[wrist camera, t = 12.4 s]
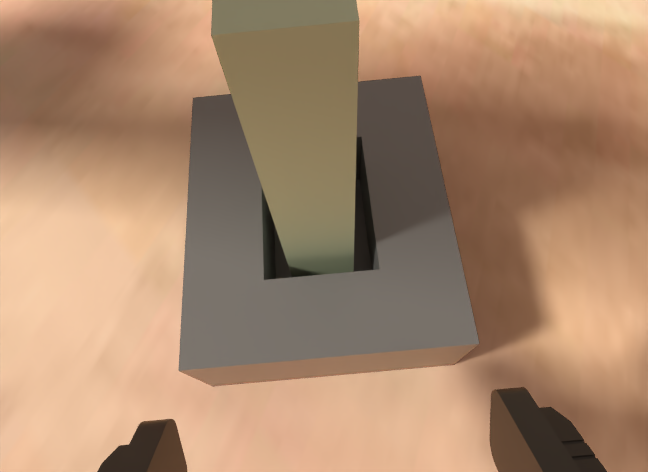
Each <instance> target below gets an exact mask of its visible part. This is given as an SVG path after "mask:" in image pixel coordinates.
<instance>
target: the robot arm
mask: <svg viewBox="0 0 648 472" xmlns="http://www.w3.org/2000/svg"><path fill="white" fill-rule="evenodd" d="M490 446H491V452H492V456H493V459H494V462H495V465H496V467H497V469H498V472H607V471H606V469H605V468H604V467H603V465H602V464H601V463H600V461H599V460H598V458H595V454H594V453H593V452H592V450H591V449H590V447H589V446H588V445H587V443H584V439H583V438H582V436H581V435H580V434H579V432H578V431H577V430H576V428H575V427H574V425H573V424H572V423H571V421H569V420H568V419H567V418H565V417H564V416H562V415H561V414H560V413H558V412H557V411H556V410H554V409H553V408H552V407H545V408H539V407H538V406H537V404H536V403H535V401H534V400H533V398H532V397H531V395H530V394H529V392H528V391H527V390H526V389H525V388H524V387H520V388H509V389H498V390H493V391H492V393H491V412H490ZM98 472H187V465H186V461H185V457H184V453H183V449H182V445H181V441H180V438H179V434H178V430H177V426H176V423H175V421H174V420H173V419H165V420H154V421H144V422H141V423H140V424H139V426H138V428H137V430H136V432H135V434H134V436H133V438H132V440H131V442H130V444H129V445H121V446H119V447H118V448H117V449H116V450H115V451H114V452H113V453H112V454H111V455H110V456H109V457H108V458H107V459H106V460H105V461H104V462H103V463H102V464H101V466H100V468H99V470H98Z"/></svg>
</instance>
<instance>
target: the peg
mask: <svg viewBox="0 0 648 472" xmlns="http://www.w3.org/2000/svg"><path fill="white" fill-rule="evenodd" d="M211 36H212V39H213V42H214V45H215V48H216V51H217V54H218V57H219V60H220V63H221V66H222V69H223V72H224V75H225V78H226V81H227V84H228V87H229V90H230V93H231V96H232V99H233V102H234V105H235V108H236V111H237V114H238V117H239V120H240V123H241V126H242V129H243V132H244V135H245V138H246V141H247V144H248V147H249V150H250V153H251V156H252V159H253V162H254V165H255V168H256V171H257V174H258V177H259V180H260V183H261V186H262V189H263V192H264V195H265V197H266V200H267V203H268V206H269V209H270V212H271V215H272V218H273V221H274V224H275V227H276V230H277V233H278V236H279V239H280V242H281V245H282V248H283V251H284V254H285V257H286V260H287V263H288V266H289V269H290V272H291V275H292V277H302V276H312V275H323V274H334V273H345V272H354V230H355V186H356V142H357V98H358V54H359V16H358V10H357V3H356V0H212V28H211Z"/></svg>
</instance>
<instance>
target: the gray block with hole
mask: <svg viewBox="0 0 648 472" xmlns="http://www.w3.org/2000/svg"><path fill="white" fill-rule="evenodd" d="M478 345H479V339H478V334H477V330H476V325H475V321H474V316H473V312H472V307H471V303H470V298H469V294H468V289H467V284H466V280H465V275H464V271H463V266H462V262H461V257H460V253H459V248H458V244H457V239H456V235H455V230H454V225H453V221H452V216H451V212H450V207H449V203H448V198H447V194H446V189H445V185H444V180H443V175H442V171H441V166H440V162H439V157H438V153H437V148H436V144H435V139H434V135H433V130H432V125H431V121H430V116H429V112H428V107H427V103H426V98H425V94H424V89H423V85H422V80H421V76H413V77H402V78H392V79H382V80H371V81H361V82H358V98H357V142H356V186H355V230H354V272H345V273H334V274H323V275H312V276H302V277H292V275H291V272H290V269H289V266H288V263H287V260H286V257H285V254H284V251H283V248H282V245H281V242H280V239H279V236H278V233H277V230H276V227H275V224H274V221H273V218H272V215H271V212H270V209H269V206H268V203H267V200H266V197H265V195H264V192H263V189H262V186H261V183H260V180H259V177H258V174H257V171H256V168H255V165H254V162H253V159H252V156H251V153H250V150H249V147H248V144H247V141H246V138H245V135H244V132H243V129H242V126H241V123H240V120H239V117H238V114H237V111H236V108H235V105H234V102H233V99H232V96H231V94H227V95H217V96H206V97H196V98H193V107H192V126H191V145H190V164H189V183H188V202H187V221H186V240H185V259H184V278H183V297H182V316H181V335H180V354H179V371H180V372H182V373H185V374H187V375H189V376H191V377H193V378H195V379H198V380H200V381H202V382H204V383H206V384H209V385H211V386H221V385H232V384H243V383H255V382H266V381H277V380H288V379H299V378H311V377H322V376H333V375H344V374H356V373H367V372H378V371H389V370H401V369H412V368H423V367H434V366H445V365H454V364H455V363H457V362H458V361H459V360H460V359H461V358H463V357H464V356H465V355H466V354H468V353H469V352H470V351H471V350H473V349H474V348H475V347H476V346H478Z"/></svg>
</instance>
